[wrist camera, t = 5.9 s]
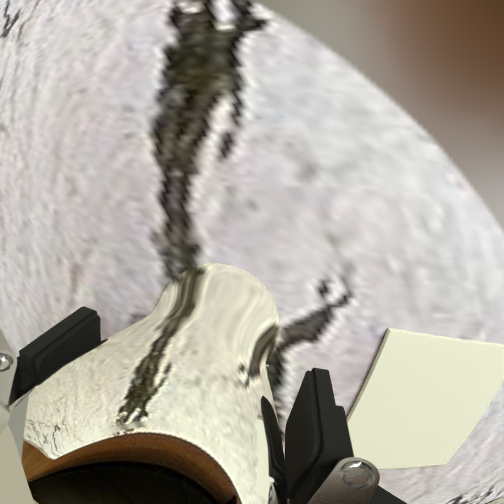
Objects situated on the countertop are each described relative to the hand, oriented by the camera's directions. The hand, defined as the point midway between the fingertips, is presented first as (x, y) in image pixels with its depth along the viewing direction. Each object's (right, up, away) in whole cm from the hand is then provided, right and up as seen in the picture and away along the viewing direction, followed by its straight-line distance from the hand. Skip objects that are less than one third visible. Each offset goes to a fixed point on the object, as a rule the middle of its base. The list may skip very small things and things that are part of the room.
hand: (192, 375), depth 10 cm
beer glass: (+1, +1, +5) cm, 5 cm away
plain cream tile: (+13, -6, +5) cm, 15 cm away
